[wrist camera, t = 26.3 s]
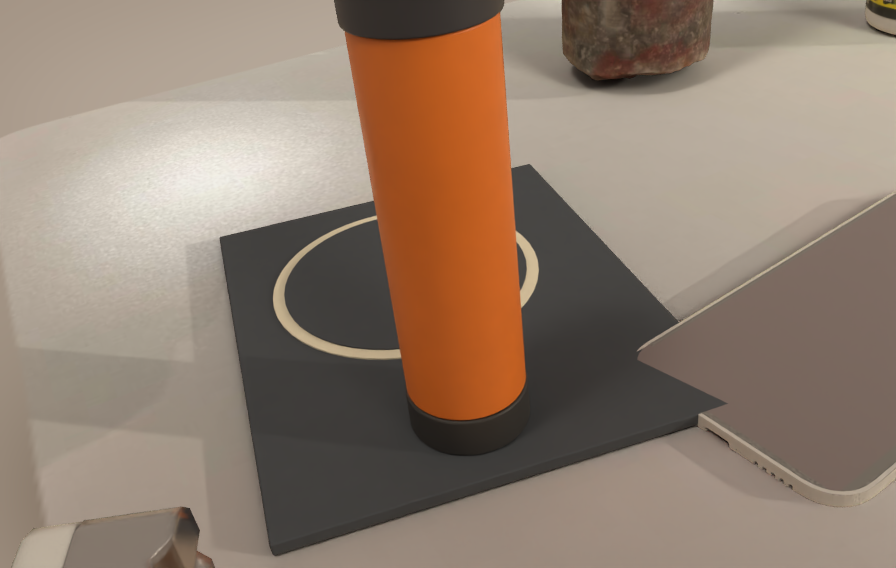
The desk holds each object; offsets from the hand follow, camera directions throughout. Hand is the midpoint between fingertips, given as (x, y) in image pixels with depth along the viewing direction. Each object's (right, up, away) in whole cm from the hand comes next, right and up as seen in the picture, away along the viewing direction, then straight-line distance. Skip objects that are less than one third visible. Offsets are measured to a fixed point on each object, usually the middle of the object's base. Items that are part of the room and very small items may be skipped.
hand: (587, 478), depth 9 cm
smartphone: (+12, +1, +17) cm, 21 cm away
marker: (-1, -1, +15) cm, 15 cm away
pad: (-2, +1, +19) cm, 20 cm away
